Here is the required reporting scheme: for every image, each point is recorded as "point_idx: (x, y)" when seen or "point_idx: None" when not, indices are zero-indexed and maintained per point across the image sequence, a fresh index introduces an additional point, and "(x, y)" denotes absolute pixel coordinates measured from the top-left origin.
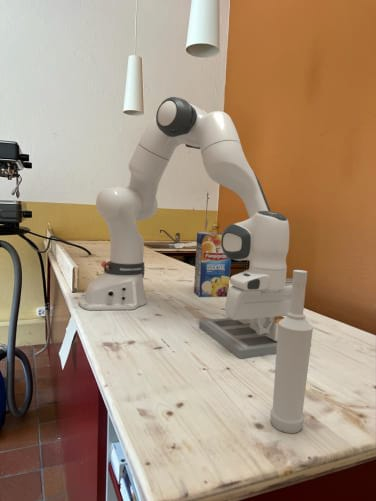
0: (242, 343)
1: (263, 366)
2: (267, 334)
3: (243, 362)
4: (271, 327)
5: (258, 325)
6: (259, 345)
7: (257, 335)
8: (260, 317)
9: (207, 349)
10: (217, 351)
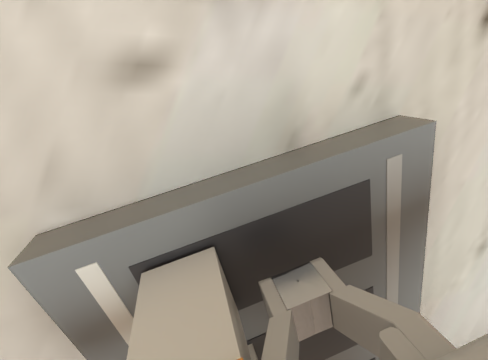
0: (384, 206)
1: (340, 21)
2: (236, 308)
3: (402, 77)
4: (241, 338)
5: (378, 300)
6: (318, 189)
7: None
8: (472, 351)
9: (457, 199)
10: (437, 185)
